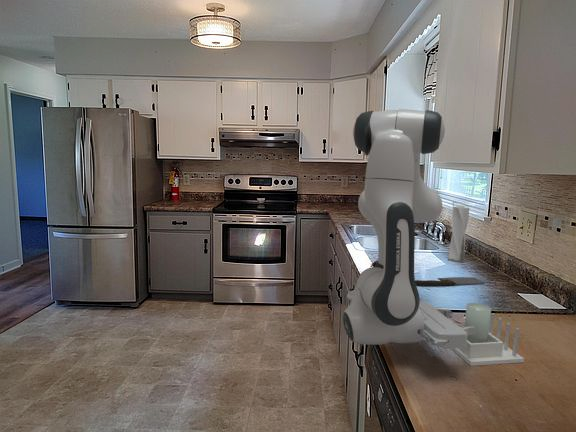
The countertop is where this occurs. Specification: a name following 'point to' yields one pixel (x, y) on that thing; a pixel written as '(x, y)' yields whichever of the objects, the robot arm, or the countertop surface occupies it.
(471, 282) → the cleaver
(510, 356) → the dish rack
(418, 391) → the countertop surface
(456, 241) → the skyscraper
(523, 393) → the countertop surface
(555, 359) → the countertop surface
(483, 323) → the sage green cylinder
